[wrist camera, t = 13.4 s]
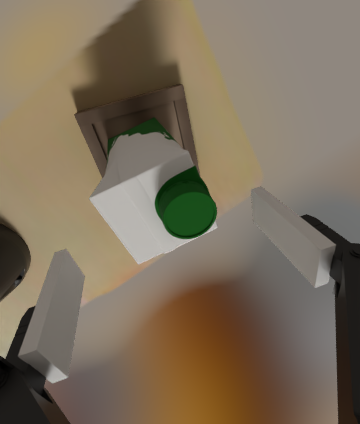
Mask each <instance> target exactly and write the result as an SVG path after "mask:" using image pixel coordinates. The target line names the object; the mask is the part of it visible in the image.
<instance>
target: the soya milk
mask: <svg viewBox="0 0 360 424" xmlns="http://www.w3.org/2000/svg"><path fill="white" fill-rule="evenodd" d="M89 199H90V201H91V202H92V203H93V205H94V206H95V207H96V209H97V210H98V211H99V213H100V214H101V215H102V217H103V218H104V219H105V221H106V222H107V223H108V225H109V226H110V227H111V229H112V230H113V231H114V233H115V234H116V235H117V237H118V238H119V239H120V241H121V242H122V243H123V245H124V246H125V247H126V249H127V250H128V251H129V253H130V254H131V255H132V257H133V258H134V259H135V261H136V262H137V263H138V264H140V263H143V262H145V261H147V260H149V259H151V258H153V257H155V256H157V255H160V254H162V253H168V252H170V251H172V250H174V249H176V248H177V247H179V246H181V245H183V244H185V243H187V242H189V241H191V240H193V239H195V238H198V237H200V236H202V235H204V234H206V233H208V232H210V231H212V230H214V229H216V228H217V227H218V225H217V223H216V220H215V219H216V216H217V207H216V204H215V202H214V201H213V199H212V198H211V196H210V194H209V191H208V188H207V186H206V184H205V183H204V181H203V180H202V179H201V177H200V175H199V173H198V170H197V168H196V165H195V166H194V164H193V162H192V159H191V156H190V154H189V151H187V150H184V149H182V148H181V146H180V145H179V144H178V143H177V142H176V140H175V139H174V138H173V137H172V136H171V134H170V133H169V132H168V131H167V130H166V129H165V128H164V127H163V126H162V125H161V124H160V123H159V122H158V121H157V120H156V118H155V117H154V118H152V119H149V120H147V121H145V122H143V123H141V124H139V125H137V126H135V127H133V128H131V129H129V130H127V131H125V132H123V133H121V134H119V135H117V136H115V137H113V138H110V139H108V147H107V165H106V171H105V175H104V177H103V178H102V180H101V181H100V183H99V184H98V186H97V187H96V189H95V190H94V192H93V193H92V195H91V196H90V198H89Z"/></svg>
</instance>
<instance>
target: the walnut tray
mask: <svg viewBox="0 0 360 424" xmlns="http://www.w3.org/2000/svg"><path fill="white" fill-rule="evenodd" d="M74 116H75V118H76V120H77V122H78V125H79V127H80V129H81V131H82V133H83V136H84V138H85V140H86V142H87V145H88V147H89V149H90V151H91V153H92V156H93V158H94V160H95V162H96V165H97V167H98V169H99V171H100V173H101V176H102V178H103V177H104V175H105V171H106V165H107V147H108V139H110V138H113V137H115V136H117V135H119V134H121V133H123V132H125V131H127V130H129V129H131V128H133V127H135V126H137V125H139V124H141V123H143V122H145V121H147V120H149V119H152V118H154V117H155V118H156V120H157V121H158V122H159V123H160V124H161V125H162V126H163V127H164V128H165V129H166V130H167V131H168V132H169V133H170V134H171V136H172V137H173V138H174V139H175V140H176V142H177V143H178V144H179V145H180V146H181V148H182V149H184V150H187V151H189V154H190V156H191V159H192V162H193V164H194V166H195V165H196V168H197V170H198V173H199V175H200V172H199V167H198V162H197V156H196V151H195V146H194V140H193V135H192V130H191V125H190V119H189V114H188V109H187V103H186V98H185V93H184V88H183V85H181V84H177V85H174V86H170V87H167V88H163V89H159V90H156V91H152V92H148V93H145V94H141V95H137V96H134V97H130V98H127V99H123V100H119V101H116V102H112V103H108V104H105V105H101V106H97V107H94V108H90V109H87V110H83V111H79V112H77V113H76V114H74Z"/></svg>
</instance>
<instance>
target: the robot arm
mask: <svg viewBox="0 0 360 424" xmlns="http://www.w3.org/2000/svg"><path fill="white" fill-rule="evenodd" d="M251 198H252V216H253V222H254V223H255V224H256V225H257V226H258V227H259V228H260V229H261V230H262V231H263V232H264V233H265V234H266V236H267V237H268V238H269V239H270V240H271V241H272V242H273V243H274V244H275V245H276V246H277V247H278V249H279V250H280V251H281V252H282V253H283V254H284V255H285V256H286V257H287V258H288V259H289V260H290V262H291V263H292V264H293V265H294V266H295V267H296V268H297V269H298V270H299V271H300V272H301V273H302V275H304V277H305V278H306V279H307V280H308V281H309V282H310V283H311V284H312V285H313V286H314V287H315V288H316V287H319V286H321V285H324V284H327V283H328V281H329V276H331V277H332V278H333V279H334V280H335V285H334V290H333V294H335V317H336V318H335V319H336V352H337V354H336V355H337V391H338V424H360V244H355V243H350V242H349V241H347V240H346V239H345V238H343V237H342V236H340V235H339V234H338V233H336V232H335V231H333V230H332V229H331V228H329V227H328V226H327V225H325V224H323V223H322V222H321V221H320V220H318V219H317V218H314V217H312V216H309V215H307V214H306V215H303V216H298V215H297V214H296V213H295V212H293V211H292V210H291V209H289V208H288V207H287V206H286V205H284V204H283V203H282V202H280V201H279V200H278V199H277V198H275V197H274V196H273V195H272V194H270V193H269V192H268V191H266V190H265V189H264V188H263V187H257V188H254V189H251ZM30 262H31V257H30V252H29V249H28V247H27V246H26V244H25V243H24V241H23V240H22V239H21V238H20V237H19V236H18V235H17V234H16V233H14V232H13V231H12V230H10V229H8V228H7V227H5V226H3V225H1V224H0V302H1V301H2V300H3V299H4V298H5V297H6V296H7V295H8V294H9V293H11V292H12V291H13V290H14V289H15V288H16V287H17V286H18V285H19V284H20V283H21V282H22V280H23V279H24V277H25V275H26V273H27V271H28V269H29V266H30ZM84 278H85V276H84V274H83V273H82V271H81V270H80V268H79V267H78V265H77V264H76V263H75V261H74V260H73V258H72V257H71V255H70V254H69V252H68V251H67V249H64V250H61V251H58V252H55V253H54V256H53V259H52V262H51V264H50V267H49V270H48V273H47V276H46V279H45V281H44V284H43V287H42V290H41V293H40V295H39V298H38V301H37V304H36V306H34V307H31V308H29V309H28V310H27V311H26V313H25V314H24V315H23V317H22V318H21V321H20V324H19V326H18V329H17V331H16V334H15V337H14V339H13V341H12V344H11V346H10V349H9V351H8V354H7V356H6V359H4V358H3V357H1V356H0V424H70V422H69V421H68V419H67V418H66V417H65V415H64V414H63V412H62V411H61V409H60V408H59V406H58V405H57V404H56V402H55V401H54V399H53V398H52V396H51V395H50V393H49V392H48V391H47V390H46V389H45V388H44V384H45V380H46V379H48V380H49V381H50V382H51V383H55V382H57V381H60V380H63V379H65V378H68V376H69V369H70V363H71V357H72V351H73V345H74V339H75V333H76V327H77V320H78V315H79V309H80V303H81V297H82V290H83V284H84Z"/></svg>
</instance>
